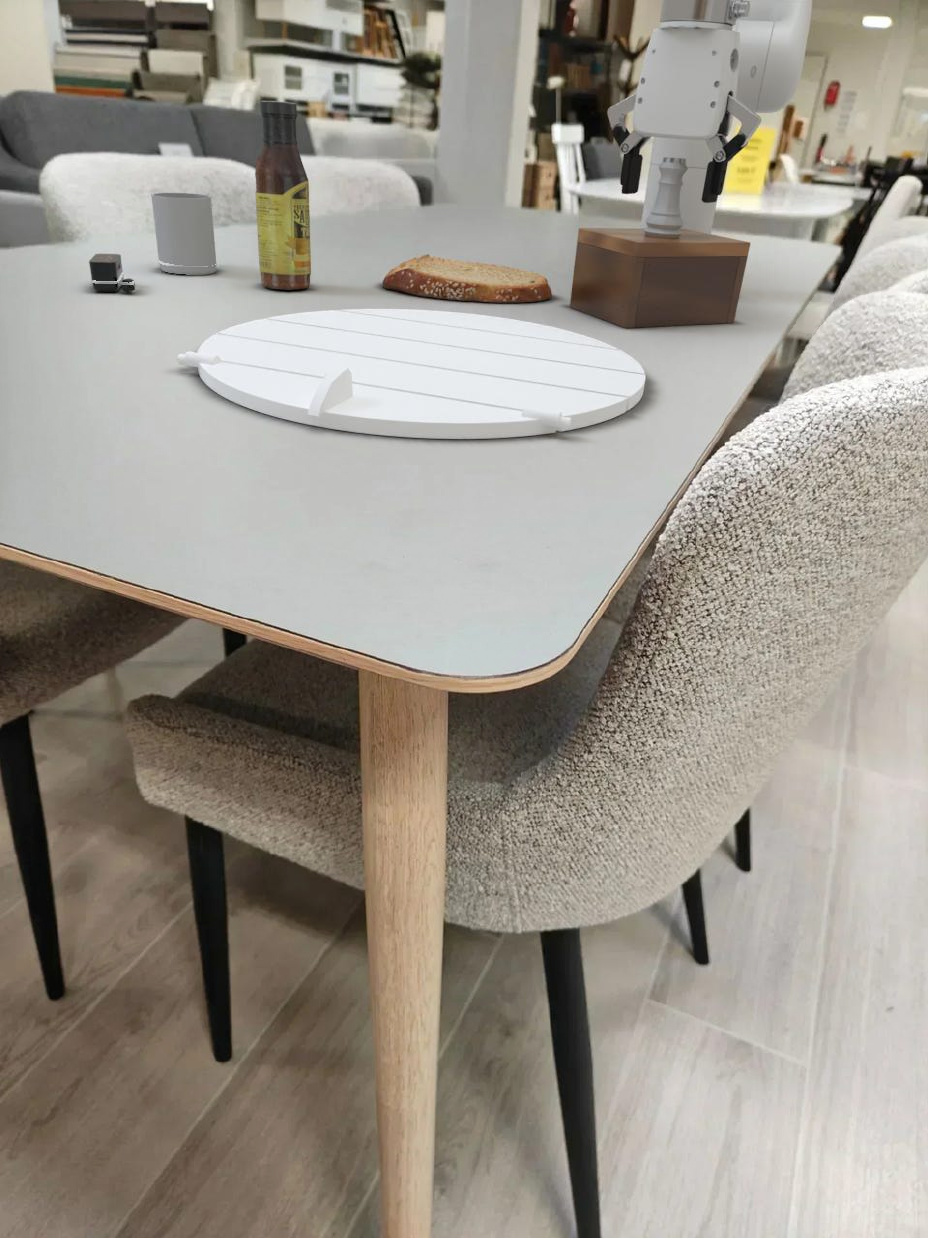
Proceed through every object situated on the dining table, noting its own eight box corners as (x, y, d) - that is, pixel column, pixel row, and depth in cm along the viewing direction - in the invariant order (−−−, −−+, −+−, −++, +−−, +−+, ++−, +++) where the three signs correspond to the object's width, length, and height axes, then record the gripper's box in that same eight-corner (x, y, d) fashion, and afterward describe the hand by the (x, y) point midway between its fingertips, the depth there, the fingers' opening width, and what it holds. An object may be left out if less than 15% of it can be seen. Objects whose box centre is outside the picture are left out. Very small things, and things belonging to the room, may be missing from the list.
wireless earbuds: (91, 293, 96) (87, 262, 95) (100, 282, 102) (96, 253, 101) (135, 294, 97) (131, 264, 96) (141, 283, 103) (137, 254, 102)
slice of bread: (563, 299, 111) (567, 268, 109) (456, 310, 100) (458, 276, 98) (473, 276, 122) (474, 248, 120) (368, 284, 112) (368, 253, 110)
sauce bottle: (307, 293, 104) (300, 102, 94) (255, 289, 104) (243, 98, 94) (315, 284, 110) (310, 103, 100) (266, 281, 110) (256, 99, 100)
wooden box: (569, 306, 107) (578, 227, 102) (672, 303, 113) (685, 228, 109) (625, 328, 97) (638, 242, 93) (734, 322, 104) (750, 242, 99)
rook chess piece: (681, 239, 97) (695, 160, 93) (642, 236, 98) (654, 157, 94) (681, 235, 101) (694, 158, 97) (643, 232, 102) (654, 155, 98)
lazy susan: (583, 479, 55) (590, 428, 54) (86, 388, 66) (79, 342, 64) (673, 352, 88) (680, 317, 86) (332, 305, 99) (331, 273, 97)
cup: (155, 274, 109) (145, 196, 105) (169, 262, 118) (161, 189, 113) (213, 276, 110) (206, 199, 106) (223, 264, 119) (217, 192, 114)
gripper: (791, 19, 88) (753, 204, 96) (635, 18, 96) (613, 189, 104) (769, 9, 82) (731, 207, 91) (606, 9, 90) (585, 191, 99)
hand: (668, 197), depth 98 cm, fingers open, 9 cm apart
